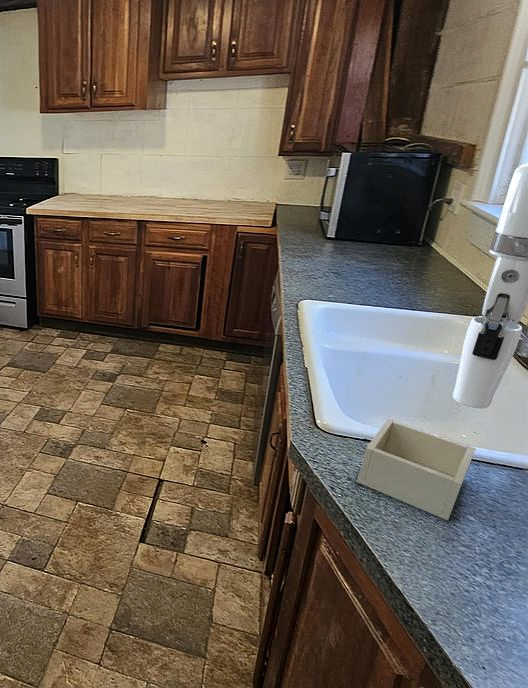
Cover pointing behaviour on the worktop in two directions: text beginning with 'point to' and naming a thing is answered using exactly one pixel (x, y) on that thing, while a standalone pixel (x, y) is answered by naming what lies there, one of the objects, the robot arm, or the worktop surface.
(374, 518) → the worktop surface
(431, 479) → the beige open box
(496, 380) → the drinking glass
